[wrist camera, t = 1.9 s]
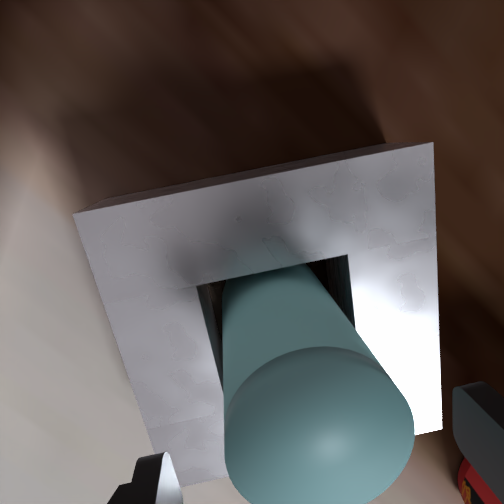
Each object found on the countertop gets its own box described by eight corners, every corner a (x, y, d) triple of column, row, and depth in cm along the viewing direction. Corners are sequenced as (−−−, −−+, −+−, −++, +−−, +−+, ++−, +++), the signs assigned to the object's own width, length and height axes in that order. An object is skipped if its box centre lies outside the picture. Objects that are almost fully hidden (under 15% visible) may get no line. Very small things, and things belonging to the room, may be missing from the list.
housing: (386, 142, 18) (433, 142, 14) (402, 378, 22) (441, 428, 18) (105, 198, 17) (72, 214, 13) (176, 428, 21) (167, 490, 18)
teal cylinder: (313, 242, 19) (410, 343, 9) (325, 332, 20) (419, 496, 11) (212, 263, 19) (204, 388, 9) (232, 351, 20) (244, 536, 11)
